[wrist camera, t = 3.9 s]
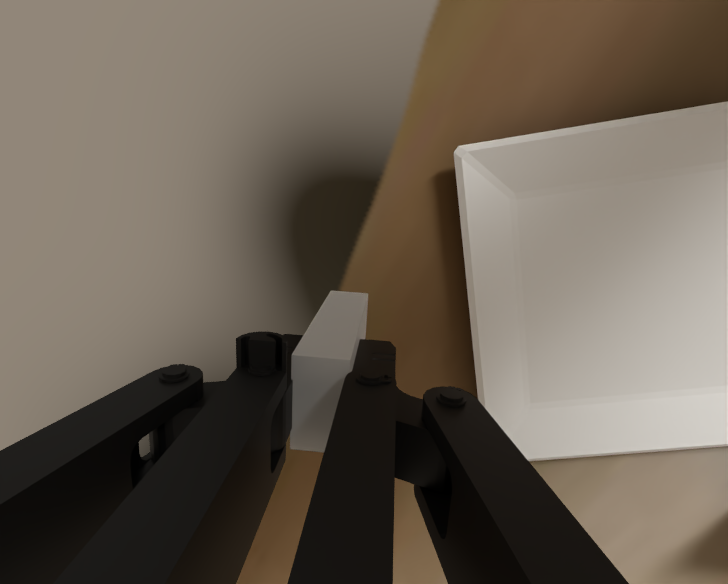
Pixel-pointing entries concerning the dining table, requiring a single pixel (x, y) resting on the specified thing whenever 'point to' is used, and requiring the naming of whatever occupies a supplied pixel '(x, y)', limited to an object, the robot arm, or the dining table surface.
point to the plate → (601, 283)
